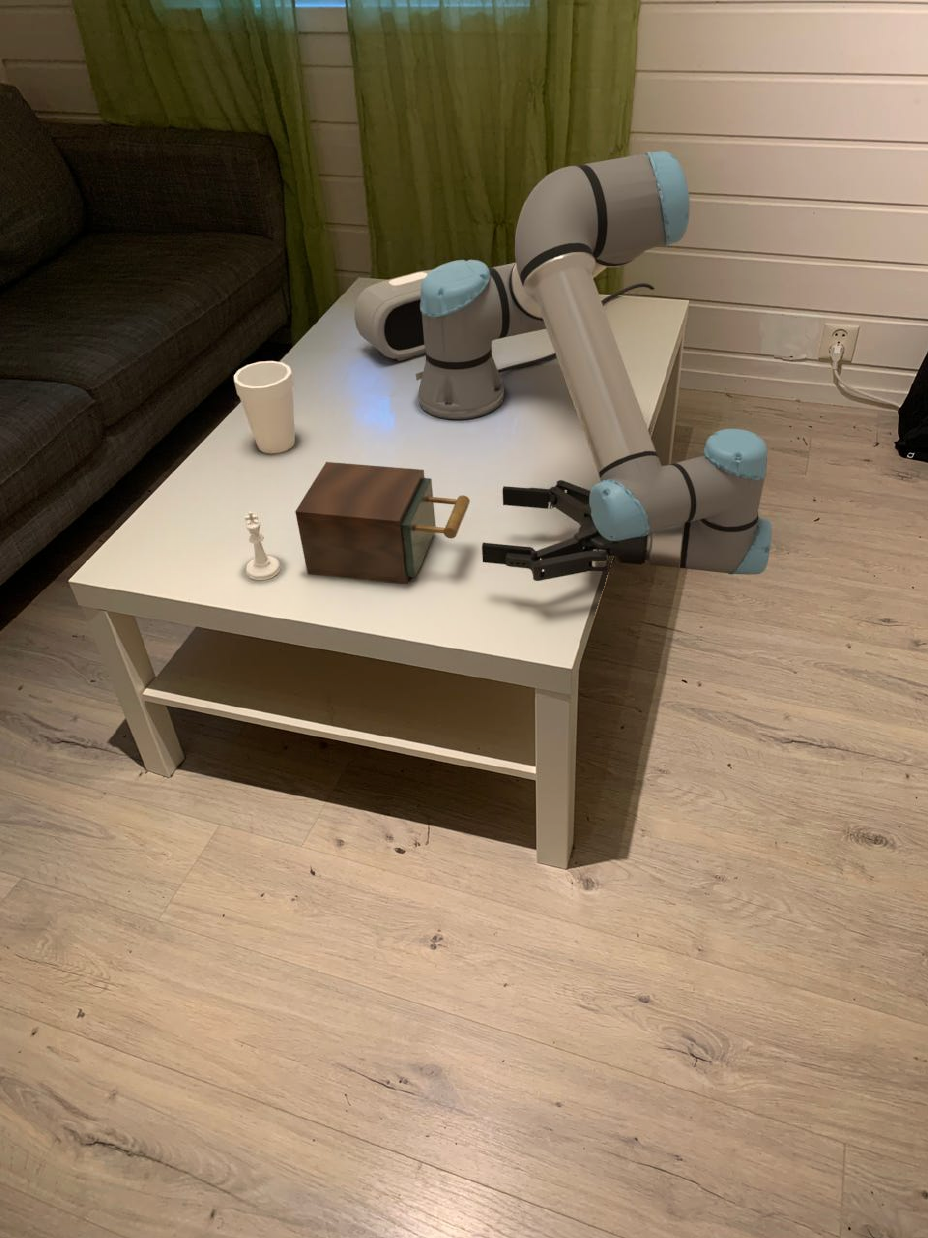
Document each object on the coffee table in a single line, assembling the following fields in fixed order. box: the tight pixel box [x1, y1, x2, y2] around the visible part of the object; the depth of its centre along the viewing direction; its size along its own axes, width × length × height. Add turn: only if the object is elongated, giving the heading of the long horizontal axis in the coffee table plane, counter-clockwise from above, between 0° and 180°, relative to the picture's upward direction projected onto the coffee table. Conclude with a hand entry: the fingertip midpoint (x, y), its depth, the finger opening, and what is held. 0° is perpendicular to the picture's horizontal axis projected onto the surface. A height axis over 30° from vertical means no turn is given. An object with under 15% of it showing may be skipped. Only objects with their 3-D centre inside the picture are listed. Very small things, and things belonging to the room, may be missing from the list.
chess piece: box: [244, 511, 281, 581], centre depth 142 cm, size 5×5×10 cm
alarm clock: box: [353, 269, 433, 362], centre depth 193 cm, size 21×10×13 cm, turn 120°
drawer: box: [401, 477, 471, 578], centre depth 142 cm, size 20×12×9 cm, turn 77°
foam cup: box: [233, 360, 296, 454], centre depth 168 cm, size 10×9×13 cm
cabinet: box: [294, 461, 426, 585], centre depth 143 cm, size 15×13×11 cm
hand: (493, 522), depth 138 cm, fingers open, 13 cm apart
